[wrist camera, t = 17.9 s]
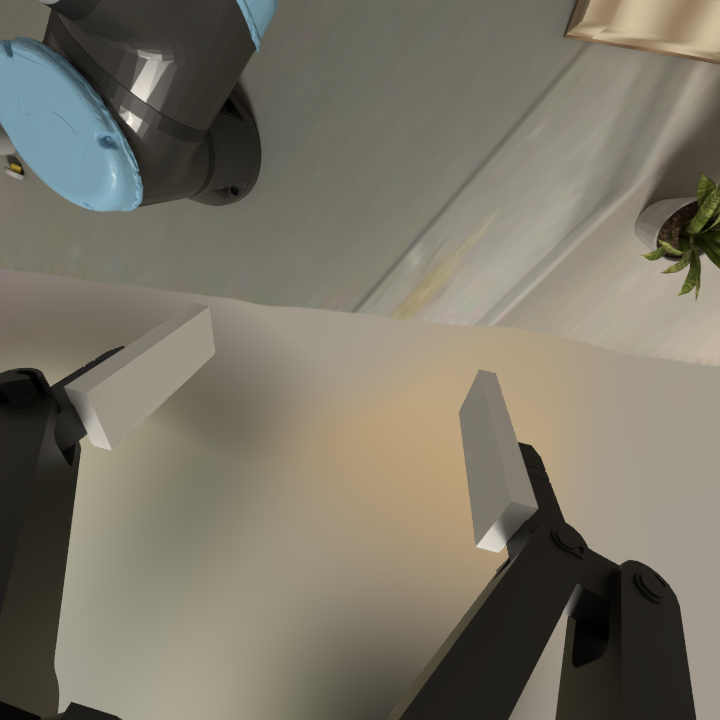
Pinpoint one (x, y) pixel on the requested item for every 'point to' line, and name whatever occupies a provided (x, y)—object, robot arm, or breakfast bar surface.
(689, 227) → the house plant
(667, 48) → the socket block
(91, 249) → the breakfast bar surface
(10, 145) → the reed diffuser
